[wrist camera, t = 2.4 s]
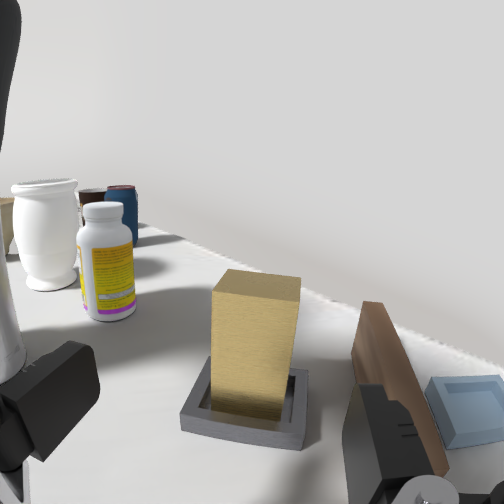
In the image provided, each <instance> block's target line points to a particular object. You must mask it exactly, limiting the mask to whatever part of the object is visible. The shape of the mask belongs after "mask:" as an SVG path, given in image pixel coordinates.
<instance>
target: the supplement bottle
mask: <svg viewBox="0 0 504 504" xmlns="http://www.w3.org/2000/svg"><path fill="white" fill-rule="evenodd" d="M83 216H84V219H85V226H84V227H82V228H81V229H80V230H79V231H78V233H77V236H76V242H77V254H78V264H79V274H80V283H81V290H82V298H83V304H84V309H85V312H86V314H87V315H88V316H90V317H91V318H93V319H96V320H100V321H116V320H120V319H123V318H126V317H128V316H129V315H131V314H132V313H133V312H134V310H135V308H136V295H135V283H134V267H133V244H132V232H131V230H130V229H129V228H128V227H127V226H126V225H124V224H122V220H121V218H122V216H123V203H120V202H95V203H88V204H85V205H84V206H83Z"/></svg>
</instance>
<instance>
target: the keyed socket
mask: <svg viewBox="0 0 504 504" xmlns="http://www.w3.org/2000/svg"><path fill="white" fill-rule="evenodd" d="M425 394H426V396H427V399H428V401H429V404H430V406H431V409H432V411H433V414H434V417H435V419H436V422H437V424H438V427H439V430H440V433H441V435H442V438H443V441H444V444H445V446H446V449H455V448H463V447H469V446H476V445H482V444H487V443H493V442H498V441H503V440H504V381H503V380H502V378H501V377H500V375H485V376H462V377H431V379H430V381H429V384H428V386H427V388H426V390H425Z"/></svg>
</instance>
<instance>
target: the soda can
mask: <svg viewBox="0 0 504 504" xmlns="http://www.w3.org/2000/svg"><path fill="white" fill-rule="evenodd" d="M104 202H120V203H123V216H122V218H121V220H122V224H124V225H126V226H127V227H128V228H129V229H130V230H131V232H132V244H133V246H134V245H135V244H136V242H137V240H138V194H137V192H136V190H135V186H131V185H119V186H109V187H107V191H106V194H105V196H104Z"/></svg>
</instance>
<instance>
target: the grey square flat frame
mask: <svg viewBox="0 0 504 504" xmlns="http://www.w3.org/2000/svg"><path fill="white" fill-rule="evenodd" d="M307 391H308V370H300V369H292V368H289V374H288V380H287V386H286V392H285V397H284V403H283V408H282V414H281V419H280V422H279V421H271V420H264V419H257V418H250V417H244V416H238V415H233V414H227V413H222V412H217V411H212V410H211V356H209V357H208V359H207V361H206V363H205V365H204V367H203V369H202V371H201V373H200V375H199V377H198V379H197V381H196V383H195V384H194V386H193V388H192V390H191V392H190V394H189V396H188V398H187V400H186V402H185V404H184V406H183V408H182V410H181V412H180V423H181V430H183V431H187V432H191V433H196V434H200V435H204V436H209V437H214V438H219V439H224V440H229V441H234V442H240V443H246V444H252V445H259V446H266V447H273V448H281V449H290V450H300V451H301V448H302V445H303V441H304V438H305V432H306V413H307Z"/></svg>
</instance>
